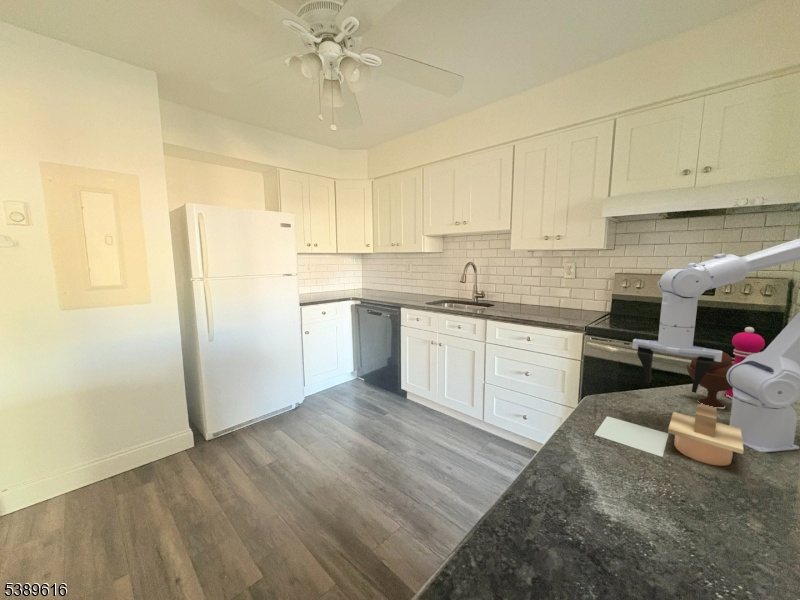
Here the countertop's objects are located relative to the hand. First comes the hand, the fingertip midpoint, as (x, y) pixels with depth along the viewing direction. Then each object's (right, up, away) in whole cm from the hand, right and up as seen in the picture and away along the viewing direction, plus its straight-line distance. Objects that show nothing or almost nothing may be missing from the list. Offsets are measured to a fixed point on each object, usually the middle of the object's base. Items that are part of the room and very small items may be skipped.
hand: (670, 386), depth 70 cm
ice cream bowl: (+23, -9, +14) cm, 28 cm away
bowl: (0, -11, -7) cm, 14 cm away
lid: (0, -7, -8) cm, 10 cm away
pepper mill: (+34, -8, +18) cm, 40 cm away
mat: (-9, -11, -1) cm, 14 cm away
